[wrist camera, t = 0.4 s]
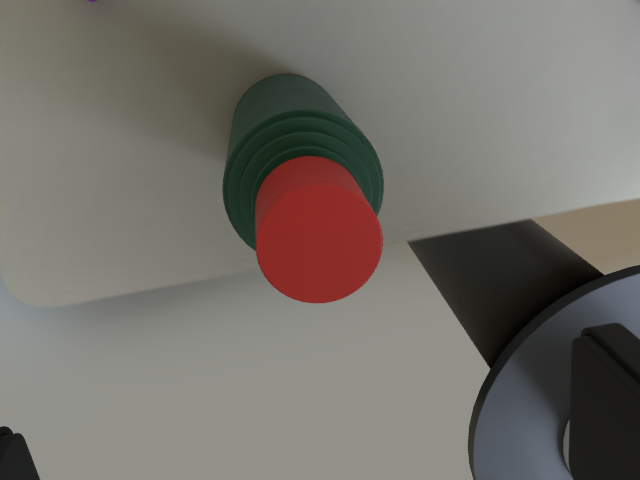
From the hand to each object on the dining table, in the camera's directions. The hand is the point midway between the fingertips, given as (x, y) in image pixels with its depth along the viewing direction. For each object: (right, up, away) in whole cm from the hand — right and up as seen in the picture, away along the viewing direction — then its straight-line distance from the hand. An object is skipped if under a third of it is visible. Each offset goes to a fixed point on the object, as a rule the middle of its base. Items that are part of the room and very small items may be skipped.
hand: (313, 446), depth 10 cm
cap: (0, +5, +12) cm, 13 cm away
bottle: (-2, +10, +26) cm, 28 cm away
